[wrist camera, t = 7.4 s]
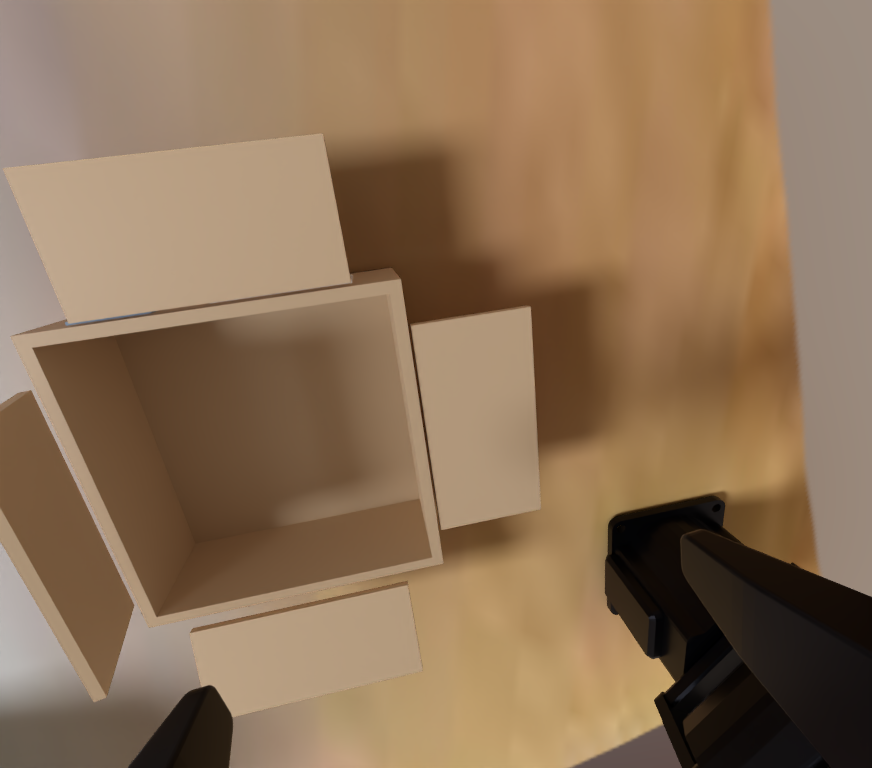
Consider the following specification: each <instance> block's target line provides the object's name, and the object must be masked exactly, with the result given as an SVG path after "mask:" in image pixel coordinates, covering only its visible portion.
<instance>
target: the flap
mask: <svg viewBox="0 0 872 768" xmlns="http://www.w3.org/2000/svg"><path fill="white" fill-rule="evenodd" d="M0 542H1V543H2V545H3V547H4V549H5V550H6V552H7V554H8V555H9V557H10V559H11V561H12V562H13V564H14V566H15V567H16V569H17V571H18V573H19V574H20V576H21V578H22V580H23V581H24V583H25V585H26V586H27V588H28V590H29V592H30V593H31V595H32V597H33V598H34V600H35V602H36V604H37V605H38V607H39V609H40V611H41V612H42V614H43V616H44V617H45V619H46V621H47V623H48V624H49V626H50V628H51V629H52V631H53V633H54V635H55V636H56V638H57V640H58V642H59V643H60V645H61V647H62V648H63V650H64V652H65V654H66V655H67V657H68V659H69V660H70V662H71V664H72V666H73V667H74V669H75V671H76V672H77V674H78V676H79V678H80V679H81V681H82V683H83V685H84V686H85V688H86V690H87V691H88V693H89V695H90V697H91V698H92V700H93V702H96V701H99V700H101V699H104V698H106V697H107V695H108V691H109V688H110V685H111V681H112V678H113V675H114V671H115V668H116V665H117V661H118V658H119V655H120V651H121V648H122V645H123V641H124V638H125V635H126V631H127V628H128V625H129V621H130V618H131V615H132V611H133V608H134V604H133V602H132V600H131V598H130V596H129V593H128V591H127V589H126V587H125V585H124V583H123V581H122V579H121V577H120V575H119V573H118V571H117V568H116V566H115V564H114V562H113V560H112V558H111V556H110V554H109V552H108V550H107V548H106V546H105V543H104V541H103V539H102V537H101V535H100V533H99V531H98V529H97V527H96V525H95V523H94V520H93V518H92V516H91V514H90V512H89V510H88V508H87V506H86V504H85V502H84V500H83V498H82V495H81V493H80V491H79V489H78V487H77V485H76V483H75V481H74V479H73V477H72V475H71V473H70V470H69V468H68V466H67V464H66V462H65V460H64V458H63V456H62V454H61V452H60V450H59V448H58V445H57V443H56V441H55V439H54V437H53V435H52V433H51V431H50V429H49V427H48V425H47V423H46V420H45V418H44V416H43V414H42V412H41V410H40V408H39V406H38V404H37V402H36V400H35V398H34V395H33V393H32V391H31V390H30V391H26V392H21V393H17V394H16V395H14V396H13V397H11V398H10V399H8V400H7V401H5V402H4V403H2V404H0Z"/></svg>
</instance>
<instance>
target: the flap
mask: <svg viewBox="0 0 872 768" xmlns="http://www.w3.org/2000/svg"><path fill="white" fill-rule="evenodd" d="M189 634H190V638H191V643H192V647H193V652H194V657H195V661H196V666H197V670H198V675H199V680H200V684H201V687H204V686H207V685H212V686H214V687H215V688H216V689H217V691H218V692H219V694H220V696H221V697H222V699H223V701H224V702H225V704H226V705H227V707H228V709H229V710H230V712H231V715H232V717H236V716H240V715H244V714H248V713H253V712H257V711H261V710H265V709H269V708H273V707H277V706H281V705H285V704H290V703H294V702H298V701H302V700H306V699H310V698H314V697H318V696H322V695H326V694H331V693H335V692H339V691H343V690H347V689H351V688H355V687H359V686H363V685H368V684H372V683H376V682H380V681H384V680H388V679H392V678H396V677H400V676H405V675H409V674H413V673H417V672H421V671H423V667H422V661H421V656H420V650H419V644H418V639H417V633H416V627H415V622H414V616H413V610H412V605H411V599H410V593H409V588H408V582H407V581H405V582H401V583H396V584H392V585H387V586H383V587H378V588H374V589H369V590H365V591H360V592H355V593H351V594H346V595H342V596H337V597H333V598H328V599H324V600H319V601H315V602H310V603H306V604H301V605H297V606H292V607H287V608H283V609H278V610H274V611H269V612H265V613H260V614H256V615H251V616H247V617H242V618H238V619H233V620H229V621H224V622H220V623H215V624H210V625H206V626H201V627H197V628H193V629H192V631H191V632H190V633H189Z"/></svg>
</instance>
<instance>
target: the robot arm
mask: <svg viewBox="0 0 872 768" xmlns="http://www.w3.org/2000/svg"><path fill="white" fill-rule="evenodd" d="M724 510H725V503H724V502H723V501H722V500H721V499H720V498H718V497H716V496H710V497H705V498H701V499H696V500H691V501H687V502H682V503H677V504H673V505H668V506H663V507H659V508H654V509H650V510H645V511H640V512H636V513H631V514H626V515H622V516H617V517H615V518H613V519H612V520H611V521H610V522H609V524H608V555H607V557H606V560H605V594H606V596H607V606H608V608H609V610H610V611H611V612H612V613H613V614H615V615H618V614H619V615H620V617H621V618H622V620H623V621H624V623H625V624H626V626H627V627H628V629H629V630H630V632H631V633H632V635H633V636H634V638H635V639H636V641H637V642H638V644H639V645H640V647H641V648H642V650H643V651H644V653H645V654H646V655H647V656H648V657H650V658H651V659H655V658H659V659H660V660H661V662H662V663H663V665H664V666H665V667H666V669H667V670H668V672H669V673H670V675H671V676H672V678H673V679H674V680H675V683H674V684H673V685H672V686H671V687H670V688H669V689H668V690H667V691H666V692H661V693H660V694H659V695H658V696H657V697H656V698H655V699H654V702H655V704H656V707H657V709H658V711H659V714H660V716H661V718H662V722H663V724H664V727H665V729H666V731H667V734H668V736H669V738H670V740H671V743H672V745H673V748H674V750H675V752H676V755H677V757H678V759H679V762H680V764H681V766H682V768H872V597H871V596H868V595H865V594H863V593H860V592H858V591H856V590H853V589H851V588H848V587H846V586H843V585H841V584H838V583H836V582H833V581H831V580H828V579H826V578H823V577H821V576H819V575H816V574H814V573H811V572H809V571H806V570H804V569H801V568H800V567H798V566H797V565H796V564H794V563H793V562H792V563H791V564H789V563H786V562H784V561H781V560H779V559H776V558H774V557H771V556H769V555H767V554H764V553H762V552H759V551H757V550H754V549H752V548H749V547H747V546H745V545H744V544H742V543H741V542H740V541H739V540H738V539H736V538H735V537H734V536H733V535H731V534H730V533H729V532H728V531H727V530H725V529H724V528H723V527H722V526H723V518H724ZM620 525H621V526H620ZM618 526H620V527H618ZM617 527H618V528H617ZM232 732H233V719H232V715H231V712H230V710H229V709H228V707H227V705H226V704H225V702H224V701H223V699H222V697H221V696H220V694H219V692H218V691H217V689H216V688H215V687H214V686H212V685H207V686H204V687H201V688H198V689H194V690H192V691H189V692H188V693H187V694H185V695H184V697H183V698H182V699H181V700H180V701H179V703H178V704H177V705H176V707H175V708H174V709H173V710H172V712H171V713H170V714H169V715H168V717H167V718H166V719H165V721H164V722H163V723H162V724H161V726H160V727H159V728H158V729H157V731H156V732H155V733H154V735H153V736H152V737H151V738H150V740H149V741H148V742H147V743H146V745H145V746H144V747H143V749H142V750H141V751H140V752H139V754H138V755H137V756H136V757H135V759H134V760H133V761H132V763H131V764H130V765H129V766H128V768H229V762H230V752H231V742H232Z"/></svg>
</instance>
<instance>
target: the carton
mask: <svg viewBox="0 0 872 768" xmlns="http://www.w3.org/2000/svg"><path fill="white" fill-rule="evenodd" d="M3 170H4V173H5V175H6V177H7V180H8V182H9V184H10V187H11V189H12V192H13V194H14V196H15V199H16V201H17V203H18V206H19V208H20V210H21V213H22V215H23V217H24V220H25V222H26V225H27V227H28V229H29V232H30V234H31V236H32V239H33V241H34V243H35V246H36V248H37V251H38V253H39V255H40V258H41V260H42V262H43V265H44V267H45V269H46V272H47V274H48V276H49V279H50V281H51V284H52V286H53V288H54V291H55V293H56V295H57V298H58V300H59V302H60V305H61V307H62V310H63V312H64V314H65V317H66V320H63V321H60V322H56V323H53V324H50V325H46V326H43V327H40V328H36V329H33V330H30V331H26V332H23V333H20V334H16V335H13V336H10V337H11V339H12V341H13V343H14V345H15V347H16V350H17V352H18V354H19V356H20V358H21V360H22V362H23V364H24V366H25V369H26V371H27V373H28V375H29V377H30V379H31V381H32V383H33V385H34V387H35V390H36V392H37V394H38V396H39V398H40V400H41V402H42V404H43V406H44V408H45V411H46V413H47V415H48V417H49V419H50V421H51V423H52V425H53V427H54V429H55V432H56V434H57V436H58V438H59V440H60V442H61V444H62V446H63V448H64V450H65V453H66V455H67V457H68V459H69V461H70V463H71V465H72V467H73V469H74V472H75V474H76V476H77V478H78V480H79V482H80V484H81V486H82V488H83V490H84V493H85V495H86V497H87V499H88V501H89V503H90V505H91V507H92V509H93V511H94V514H95V516H96V518H97V520H98V522H99V524H100V526H101V528H102V530H103V532H104V535H105V537H106V539H107V541H108V543H109V545H110V547H111V549H112V551H113V553H114V556H115V558H116V560H117V562H118V564H119V566H120V568H121V570H122V572H123V574H124V577H125V579H126V581H127V583H128V585H129V587H130V589H131V591H132V593H133V596H134V598H135V600H136V602H137V604H138V606H139V608H140V610H141V612H142V614H143V617H144V619H145V621H146V623H147V625H148V627H149V628H151V627H155V626H160V625H164V624H169V623H173V622H178V621H183V620H187V619H192V618H196V617H201V616H206V615H210V614H215V613H219V612H224V611H228V610H233V609H238V608H242V607H247V606H251V605H256V604H261V603H265V602H270V601H274V600H279V599H283V598H288V597H293V596H297V595H302V594H306V593H311V592H315V591H320V590H325V589H329V588H334V587H338V586H343V585H348V584H352V583H357V582H361V581H366V580H370V579H375V578H380V577H384V576H389V575H393V574H398V573H403V572H407V571H412V570H416V569H421V568H425V567H430V566H435V565H439V564H444V563H443V556H442V550H441V543H440V536H439V530H438V523H437V516H436V510H435V503H434V497H433V490H432V483H431V477H430V470H429V463H428V457H427V450H426V443H425V437H424V430H423V423H422V417H421V410H420V403H419V397H418V390H417V383H416V377H415V370H414V363H413V357H412V350H411V343H410V337H409V330H408V323H407V317H406V310H405V303H404V297H403V290H402V284H401V279H400V277H399V276H398V275H397V274H396V272H395V271H394V270H393V269H392V268H386V269H379V270H372V271H365V272H358V273H351V274H350V272H349V267H348V262H347V256H346V251H345V246H344V240H343V235H342V230H341V225H340V219H339V214H338V209H337V203H336V198H335V193H334V188H333V182H332V177H331V172H330V166H329V161H328V156H327V151H326V145H325V140H324V135H323V133H321V134H312V135H303V136H294V137H285V138H275V139H266V140H257V141H248V142H239V143H230V144H221V145H211V146H202V147H193V148H184V149H175V150H166V151H157V152H147V153H138V154H129V155H120V156H111V157H102V158H93V159H83V160H74V161H65V162H56V163H47V164H38V165H28V166H19V167H10V168H3ZM410 328H411V335H412V342H413V348H414V355H415V362H416V369H417V375H418V382H419V389H420V396H421V402H422V409H423V416H424V423H425V429H426V436H427V443H428V450H429V456H430V463H431V470H432V477H433V483H434V490H435V497H436V503H437V510H438V517H439V524H440V528H441V530H444V529H449V528H454V527H459V526H463V525H468V524H473V523H478V522H482V521H487V520H492V519H497V518H501V517H506V516H511V515H516V514H520V513H525V512H530V511H535V510H539V509H541V500H540V480H539V460H538V440H537V420H536V400H535V380H534V360H533V340H532V320H531V307H530V306H528V305H527V306H520V307H514V308H508V309H501V310H495V311H489V312H482V313H476V314H470V315H463V316H457V317H451V318H444V319H438V320H432V321H425V322H419V323H413V324H410Z"/></svg>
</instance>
